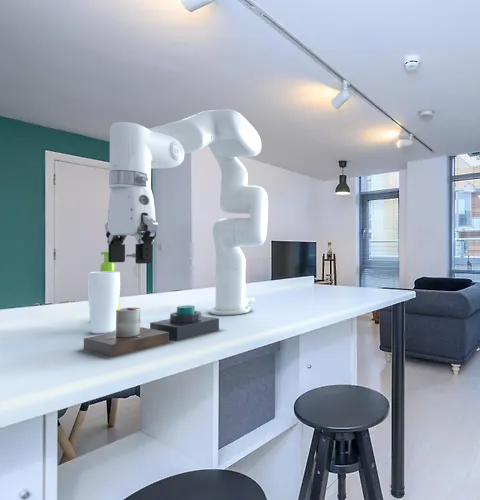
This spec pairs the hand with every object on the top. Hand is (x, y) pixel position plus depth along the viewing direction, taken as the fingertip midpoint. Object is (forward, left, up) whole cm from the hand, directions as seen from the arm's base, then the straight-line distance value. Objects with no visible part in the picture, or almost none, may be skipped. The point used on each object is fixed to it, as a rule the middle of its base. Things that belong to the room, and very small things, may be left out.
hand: (129, 262), depth 75 cm
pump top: (-14, 0, -13) cm, 19 cm away
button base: (-14, 0, -18) cm, 23 cm away
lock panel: (0, 0, -18) cm, 18 cm away
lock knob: (0, 0, -15) cm, 15 cm away
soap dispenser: (-13, -32, -18) cm, 39 cm away
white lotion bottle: (-5, -19, -18) cm, 27 cm away
